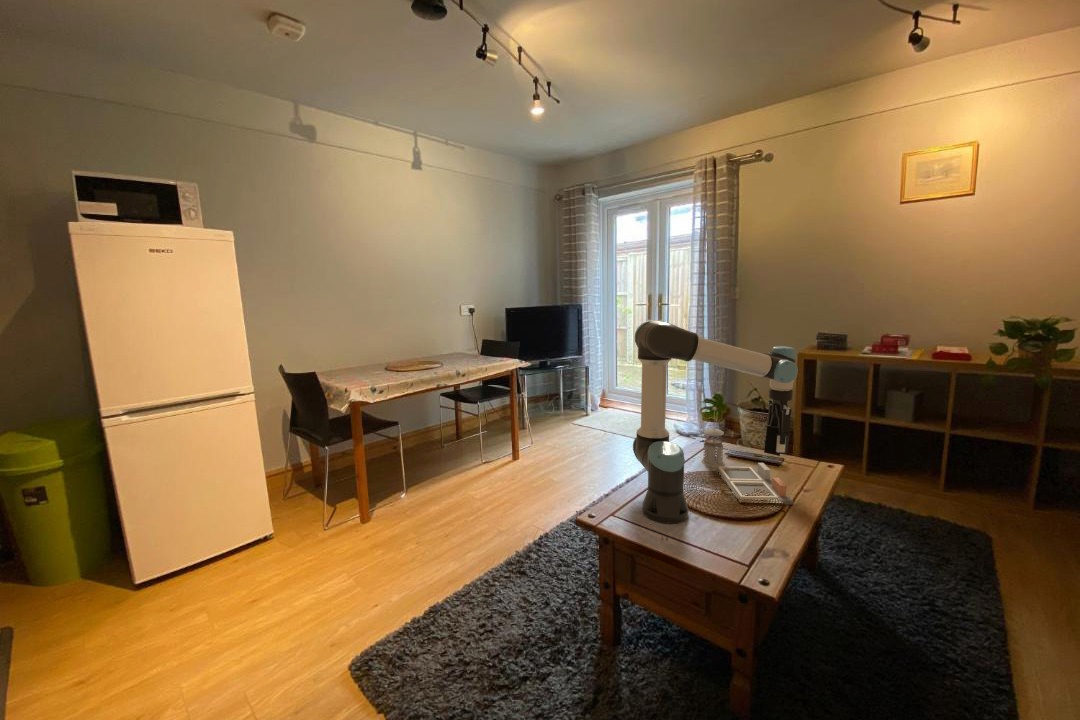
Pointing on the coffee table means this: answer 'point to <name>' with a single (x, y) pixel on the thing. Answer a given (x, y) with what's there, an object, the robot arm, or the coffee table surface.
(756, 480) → the dock board
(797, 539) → the coffee table surface
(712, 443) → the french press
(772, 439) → the speaker
